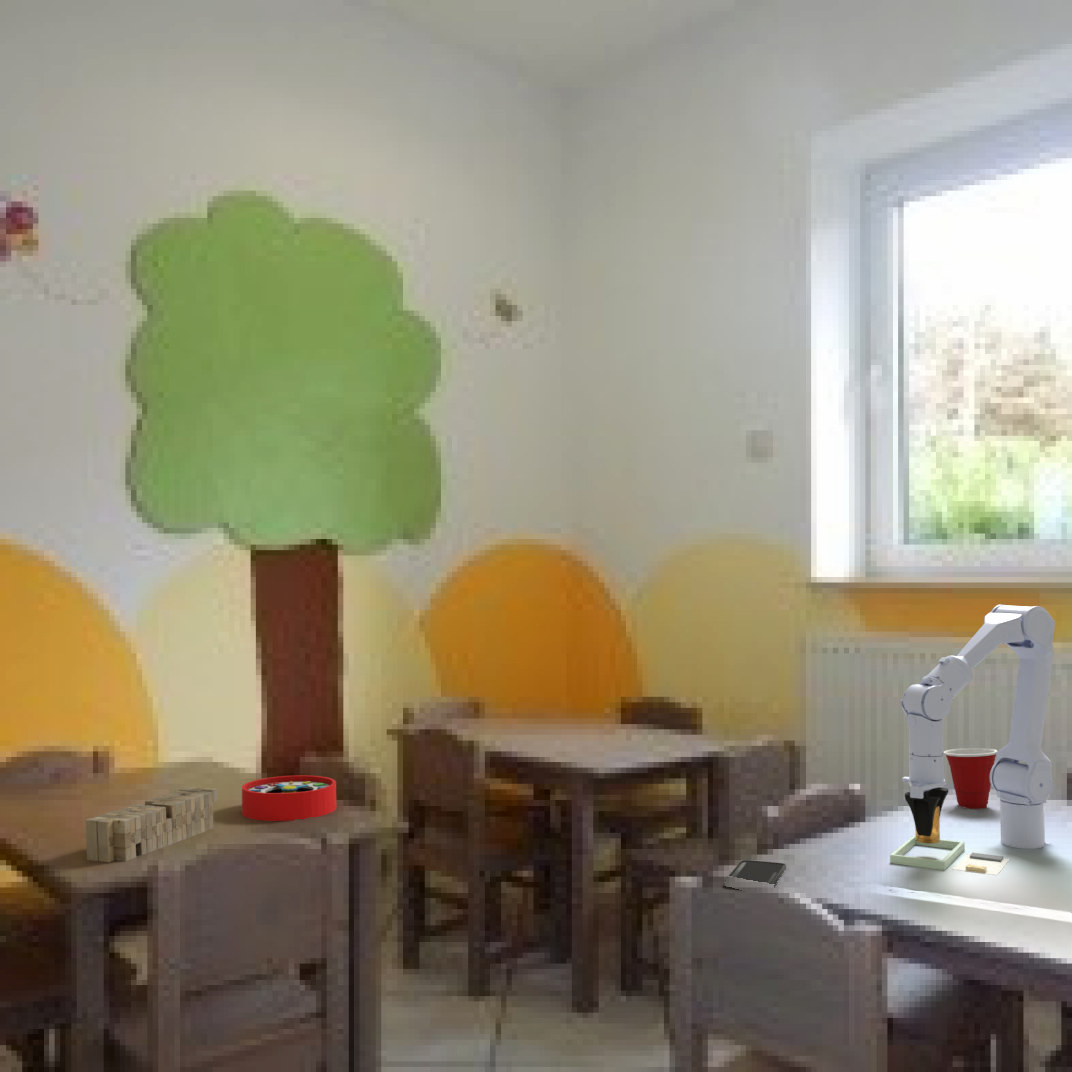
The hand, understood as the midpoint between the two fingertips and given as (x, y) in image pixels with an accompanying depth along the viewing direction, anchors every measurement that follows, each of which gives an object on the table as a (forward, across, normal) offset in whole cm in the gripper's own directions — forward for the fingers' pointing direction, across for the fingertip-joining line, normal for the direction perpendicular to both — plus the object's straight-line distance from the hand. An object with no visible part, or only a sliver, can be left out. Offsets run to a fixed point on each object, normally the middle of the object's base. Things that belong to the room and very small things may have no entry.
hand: (927, 832), depth 197 cm
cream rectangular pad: (+5, +1, +9) cm, 10 cm away
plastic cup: (+5, -50, -3) cm, 50 cm away
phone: (+6, +23, -22) cm, 33 cm away
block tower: (+6, +58, -131) cm, 144 cm away
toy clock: (+6, +24, -129) cm, 131 cm away
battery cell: (+1, 0, 0) cm, 1 cm away
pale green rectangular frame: (+5, 0, 0) cm, 5 cm away
